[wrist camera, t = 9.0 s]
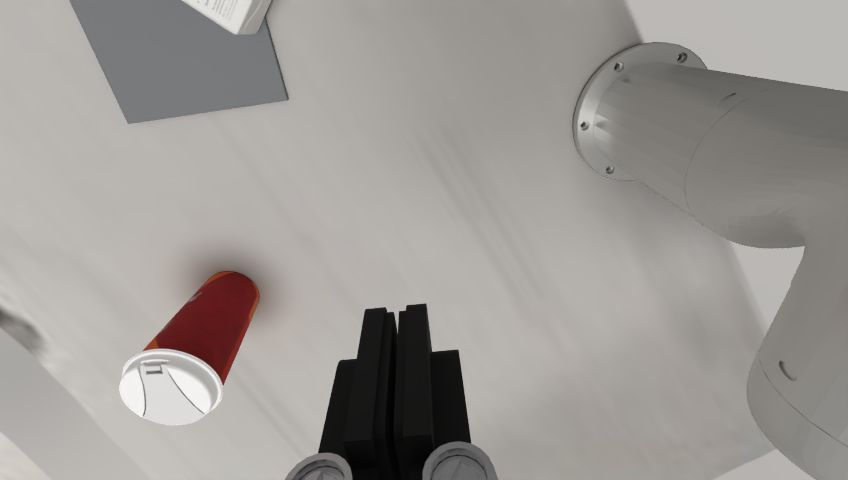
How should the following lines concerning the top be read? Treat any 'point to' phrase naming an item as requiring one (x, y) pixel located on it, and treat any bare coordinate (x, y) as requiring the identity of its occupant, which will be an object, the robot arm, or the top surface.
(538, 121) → the top surface
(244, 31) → the ink box
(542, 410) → the top surface
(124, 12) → the mat
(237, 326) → the coffee cup
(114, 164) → the top surface
